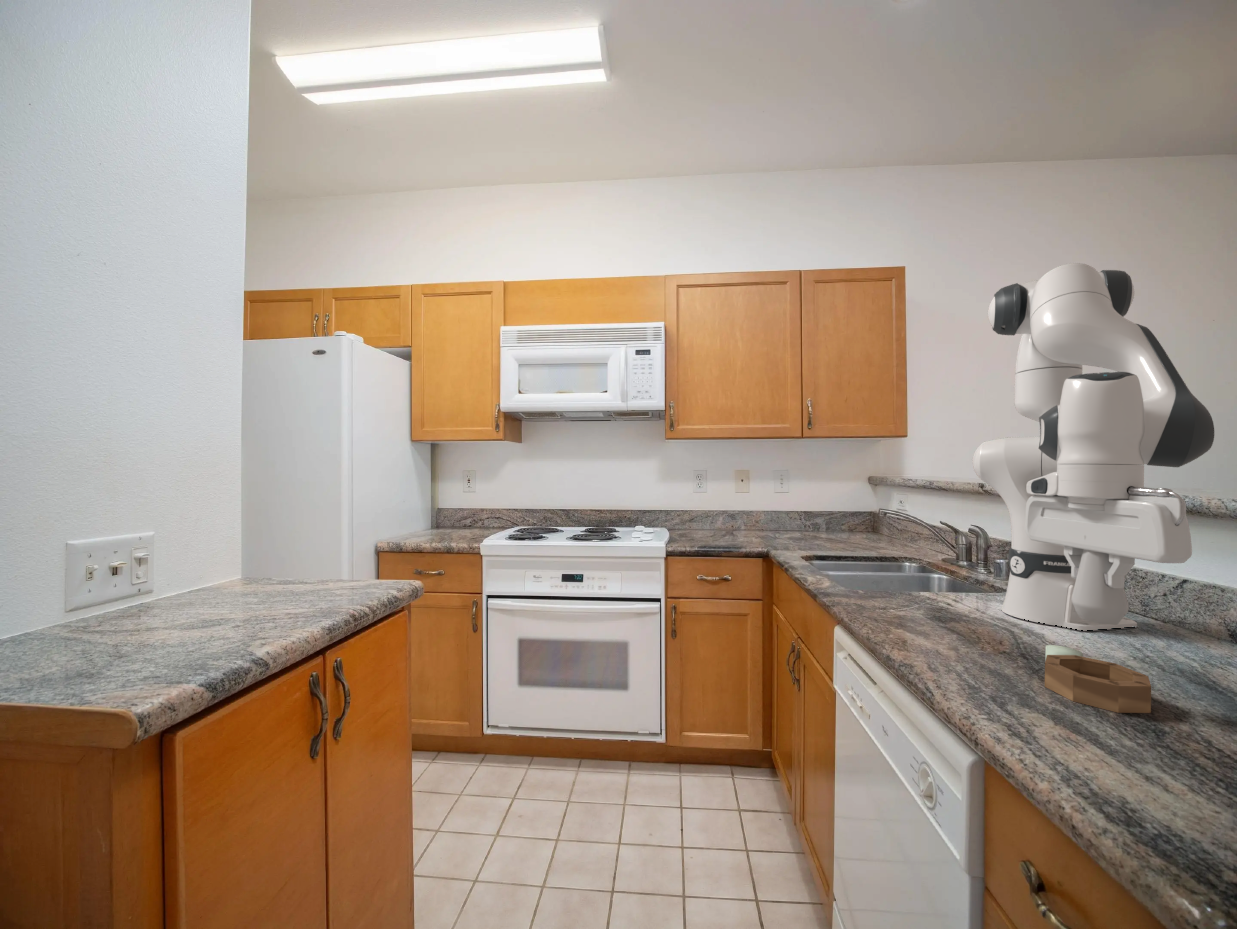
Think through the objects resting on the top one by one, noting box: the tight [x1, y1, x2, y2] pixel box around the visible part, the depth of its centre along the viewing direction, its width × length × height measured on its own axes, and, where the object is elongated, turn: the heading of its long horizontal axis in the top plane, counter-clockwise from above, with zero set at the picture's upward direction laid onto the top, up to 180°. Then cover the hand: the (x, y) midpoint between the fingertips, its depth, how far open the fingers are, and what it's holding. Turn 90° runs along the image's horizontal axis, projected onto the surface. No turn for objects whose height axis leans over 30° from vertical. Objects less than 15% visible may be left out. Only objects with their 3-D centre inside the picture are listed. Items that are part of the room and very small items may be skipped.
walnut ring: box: [1044, 655, 1152, 714], centre depth 70 cm, size 10×10×4 cm
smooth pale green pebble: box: [1044, 644, 1084, 661], centre depth 79 cm, size 4×4×3 cm
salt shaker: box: [1071, 535, 1130, 625], centre depth 70 cm, size 6×6×13 cm
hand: (1096, 583), depth 70 cm, fingers closed on salt shaker, 3 cm apart
